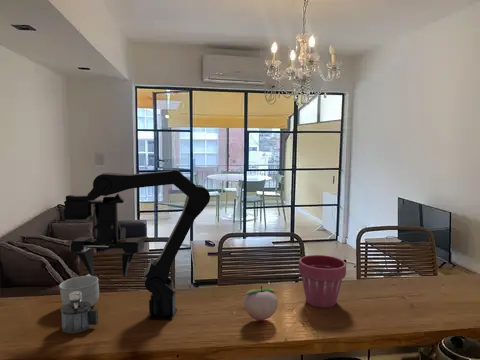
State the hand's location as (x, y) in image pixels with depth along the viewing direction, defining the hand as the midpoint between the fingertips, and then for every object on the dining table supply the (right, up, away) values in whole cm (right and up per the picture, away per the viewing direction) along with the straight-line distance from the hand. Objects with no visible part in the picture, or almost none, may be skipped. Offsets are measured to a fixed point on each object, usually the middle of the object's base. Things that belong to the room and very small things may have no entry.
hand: (108, 275), depth 109 cm
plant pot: (+61, -12, +14) cm, 64 cm away
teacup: (-11, -12, +11) cm, 20 cm away
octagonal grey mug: (-7, -13, -3) cm, 15 cm away
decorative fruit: (+42, -13, 0) cm, 44 cm away
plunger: (-7, -12, -3) cm, 14 cm away
